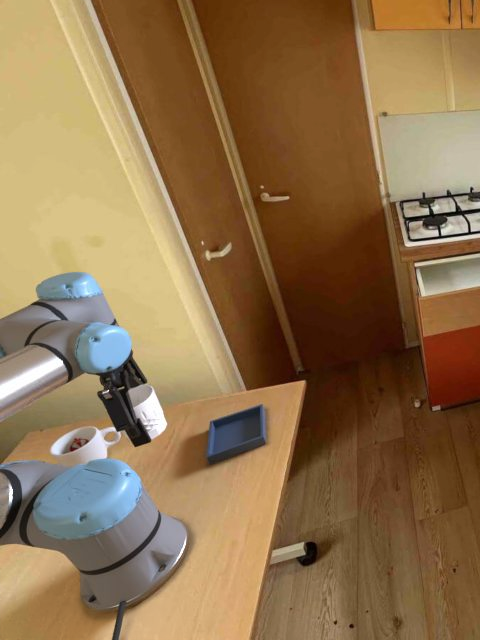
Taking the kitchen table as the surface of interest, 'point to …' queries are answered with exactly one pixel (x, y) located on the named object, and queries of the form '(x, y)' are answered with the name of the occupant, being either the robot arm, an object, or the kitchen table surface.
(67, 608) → the kitchen table surface
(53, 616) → the kitchen table surface
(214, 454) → the tray
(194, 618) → the kitchen table surface
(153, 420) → the white cup
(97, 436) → the cup
